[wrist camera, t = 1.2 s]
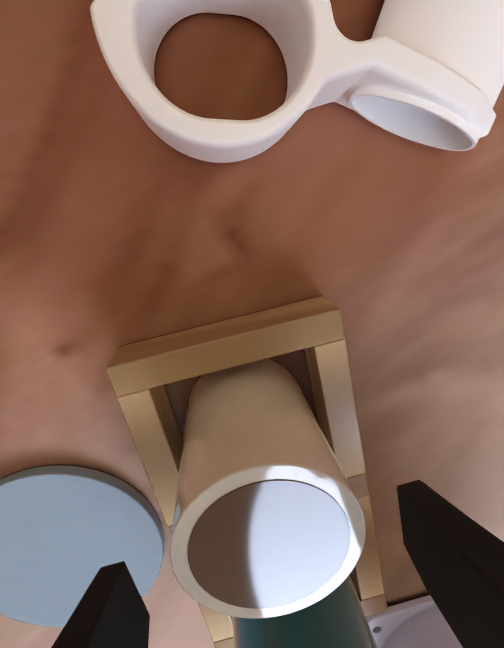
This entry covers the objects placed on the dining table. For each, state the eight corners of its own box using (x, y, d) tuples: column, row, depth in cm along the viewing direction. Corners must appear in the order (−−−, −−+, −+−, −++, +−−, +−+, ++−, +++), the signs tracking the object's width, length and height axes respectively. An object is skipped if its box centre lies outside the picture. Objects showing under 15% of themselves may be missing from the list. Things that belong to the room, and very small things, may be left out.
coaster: (186, 586, 19) (185, 597, 18) (12, 634, 18) (6, 648, 18) (128, 441, 16) (126, 450, 15) (-79, 496, 15) (-90, 507, 15)
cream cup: (311, 442, 17) (377, 590, 10) (204, 470, 17) (200, 641, 10) (290, 342, 15) (352, 441, 9) (172, 372, 15) (141, 497, 8)
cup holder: (369, 569, 20) (388, 611, 18) (218, 611, 19) (219, 659, 17) (322, 295, 15) (340, 308, 13) (119, 346, 14) (104, 368, 12)
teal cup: (335, 554, 19) (401, 737, 12) (241, 580, 19) (257, 781, 12) (319, 478, 17) (385, 640, 11) (217, 506, 17) (219, 689, 11)
